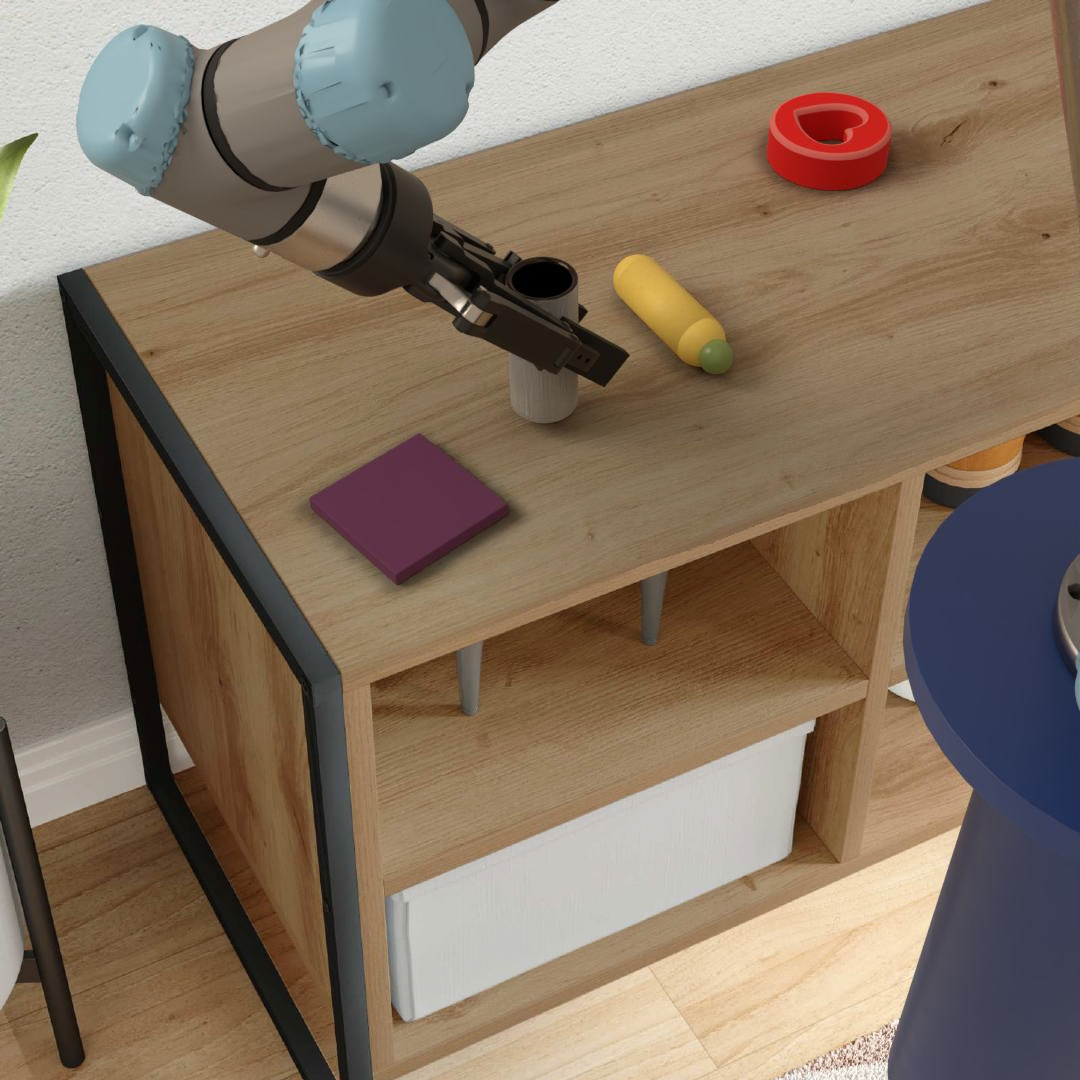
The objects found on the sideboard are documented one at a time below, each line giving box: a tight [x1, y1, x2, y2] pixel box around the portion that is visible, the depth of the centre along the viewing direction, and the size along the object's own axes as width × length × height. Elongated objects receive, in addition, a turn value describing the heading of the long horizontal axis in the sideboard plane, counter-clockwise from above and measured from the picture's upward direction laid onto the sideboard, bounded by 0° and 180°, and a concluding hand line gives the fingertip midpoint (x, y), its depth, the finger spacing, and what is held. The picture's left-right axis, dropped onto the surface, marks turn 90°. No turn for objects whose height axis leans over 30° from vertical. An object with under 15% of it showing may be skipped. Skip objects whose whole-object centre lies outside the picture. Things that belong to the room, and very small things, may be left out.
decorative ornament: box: [766, 91, 893, 191], centre depth 126 cm, size 10×10×3 cm
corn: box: [612, 253, 734, 375], centre depth 111 cm, size 13×4×4 cm, turn 30°
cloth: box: [308, 432, 509, 586], centre depth 100 cm, size 9×9×1 cm
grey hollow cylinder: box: [506, 256, 579, 424], centre depth 102 cm, size 4×4×10 cm
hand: (592, 345), depth 104 cm, fingers closed on grey hollow cylinder, 5 cm apart
